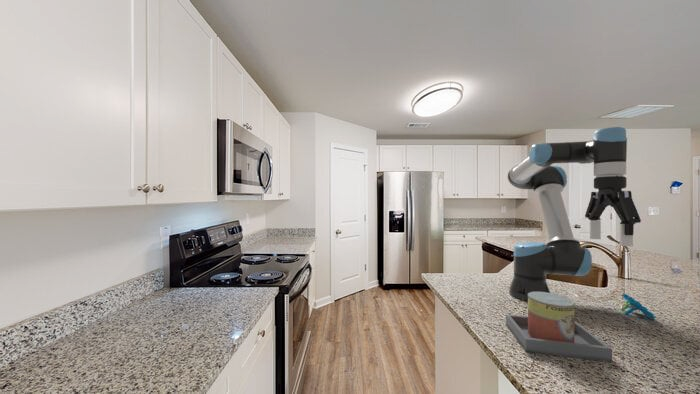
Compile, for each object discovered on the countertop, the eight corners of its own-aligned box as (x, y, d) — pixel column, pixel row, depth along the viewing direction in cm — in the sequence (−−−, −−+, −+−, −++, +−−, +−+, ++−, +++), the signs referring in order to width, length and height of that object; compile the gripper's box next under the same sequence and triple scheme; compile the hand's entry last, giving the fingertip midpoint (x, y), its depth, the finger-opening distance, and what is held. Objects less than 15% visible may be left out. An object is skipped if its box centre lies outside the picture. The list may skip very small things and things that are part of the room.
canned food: (557, 352, 72) (557, 308, 72) (518, 331, 82) (518, 293, 82) (584, 344, 75) (584, 302, 75) (544, 326, 86) (544, 289, 86)
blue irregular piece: (663, 320, 89) (633, 295, 93) (647, 330, 90) (618, 305, 94) (645, 312, 99) (618, 289, 103) (631, 321, 100) (605, 298, 104)
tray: (505, 324, 89) (505, 314, 89) (575, 331, 84) (575, 321, 84) (525, 351, 73) (525, 339, 73) (612, 362, 68) (612, 348, 68)
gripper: (659, 172, 72) (659, 250, 71) (596, 179, 96) (596, 237, 96) (626, 173, 73) (626, 249, 73) (572, 179, 98) (572, 236, 98)
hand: (609, 242), depth 85 cm, fingers open, 13 cm apart
